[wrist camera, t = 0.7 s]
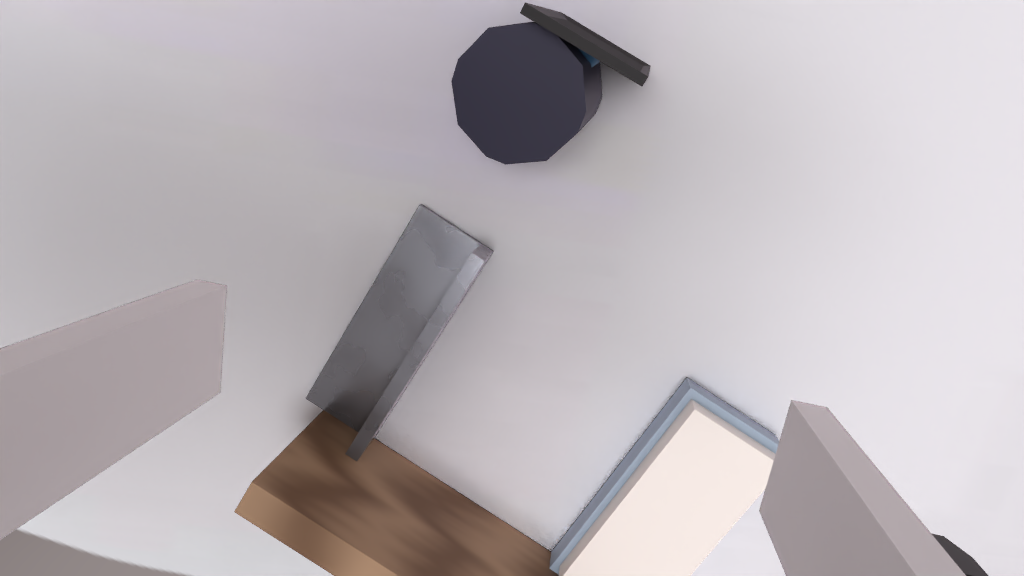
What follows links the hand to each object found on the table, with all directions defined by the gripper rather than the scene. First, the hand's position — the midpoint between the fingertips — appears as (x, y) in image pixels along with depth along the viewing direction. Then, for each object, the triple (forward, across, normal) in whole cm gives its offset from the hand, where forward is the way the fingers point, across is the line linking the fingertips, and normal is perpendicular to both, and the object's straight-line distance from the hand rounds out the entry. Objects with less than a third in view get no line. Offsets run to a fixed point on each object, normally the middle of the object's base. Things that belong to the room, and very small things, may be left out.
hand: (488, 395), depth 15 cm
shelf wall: (+22, -3, -17) cm, 28 cm away
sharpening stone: (+22, +9, -14) cm, 28 cm away
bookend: (+22, -8, -7) cm, 24 cm away
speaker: (+22, -1, +8) cm, 24 cm away
